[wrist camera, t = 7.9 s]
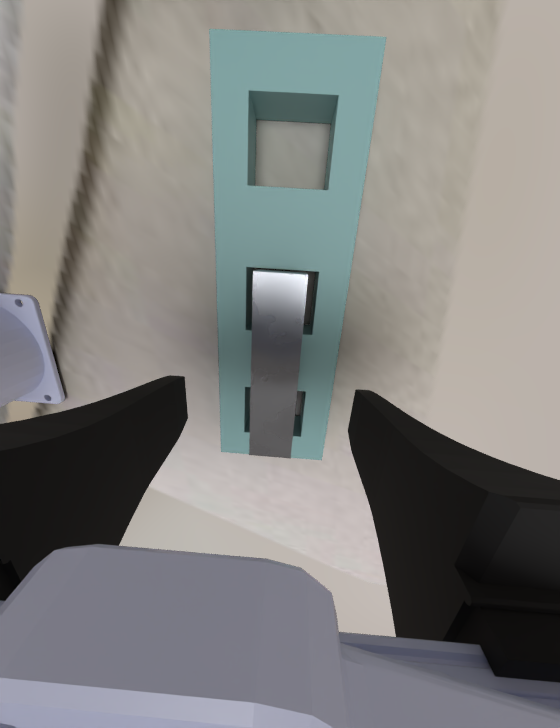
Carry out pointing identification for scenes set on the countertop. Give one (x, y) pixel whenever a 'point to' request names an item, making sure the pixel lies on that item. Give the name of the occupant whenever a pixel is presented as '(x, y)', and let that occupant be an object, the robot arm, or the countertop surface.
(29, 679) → the robot arm
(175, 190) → the countertop surface
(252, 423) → the grey arch block
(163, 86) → the countertop surface
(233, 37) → the teal slotted board
